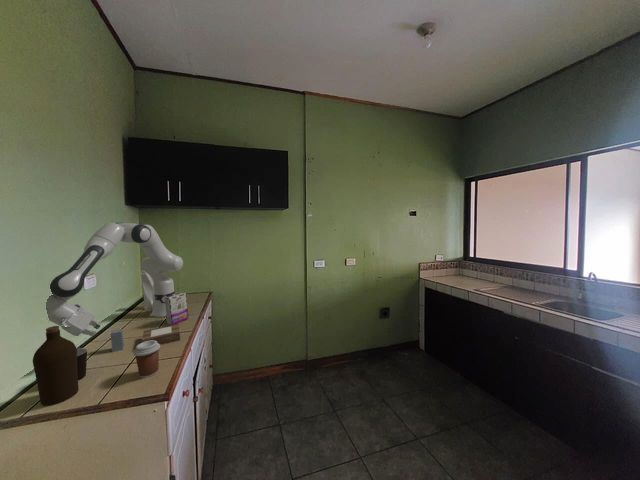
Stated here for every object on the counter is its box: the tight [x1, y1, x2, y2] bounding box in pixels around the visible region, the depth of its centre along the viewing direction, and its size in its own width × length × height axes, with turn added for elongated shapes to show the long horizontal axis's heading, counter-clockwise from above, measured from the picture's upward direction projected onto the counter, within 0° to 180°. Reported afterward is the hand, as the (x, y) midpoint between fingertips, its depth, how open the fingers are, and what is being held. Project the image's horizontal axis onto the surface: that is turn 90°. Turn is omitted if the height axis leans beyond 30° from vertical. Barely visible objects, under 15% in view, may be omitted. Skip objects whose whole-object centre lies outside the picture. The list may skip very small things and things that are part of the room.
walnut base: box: [141, 323, 181, 346], centre depth 132 cm, size 14×16×4 cm
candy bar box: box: [165, 292, 189, 326], centre depth 156 cm, size 11×5×16 cm, turn 155°
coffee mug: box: [76, 347, 88, 381], centre depth 100 cm, size 12×9×10 cm
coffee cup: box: [132, 340, 161, 379], centre depth 102 cm, size 9×9×12 cm
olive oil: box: [32, 325, 80, 407], centre depth 89 cm, size 11×11×25 cm
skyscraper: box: [140, 269, 155, 311], centre depth 183 cm, size 8×8×28 cm
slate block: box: [110, 328, 125, 353], centre depth 123 cm, size 4×4×9 cm
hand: (97, 330), depth 119 cm, fingers open, 8 cm apart
